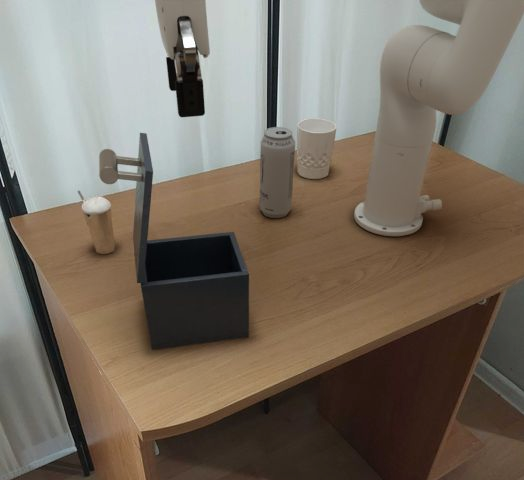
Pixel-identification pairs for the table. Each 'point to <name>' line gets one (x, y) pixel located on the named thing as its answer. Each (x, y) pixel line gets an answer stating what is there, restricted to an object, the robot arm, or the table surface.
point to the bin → (195, 290)
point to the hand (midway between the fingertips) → (186, 102)
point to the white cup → (315, 147)
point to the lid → (143, 193)
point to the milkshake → (99, 223)
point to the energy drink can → (276, 171)
